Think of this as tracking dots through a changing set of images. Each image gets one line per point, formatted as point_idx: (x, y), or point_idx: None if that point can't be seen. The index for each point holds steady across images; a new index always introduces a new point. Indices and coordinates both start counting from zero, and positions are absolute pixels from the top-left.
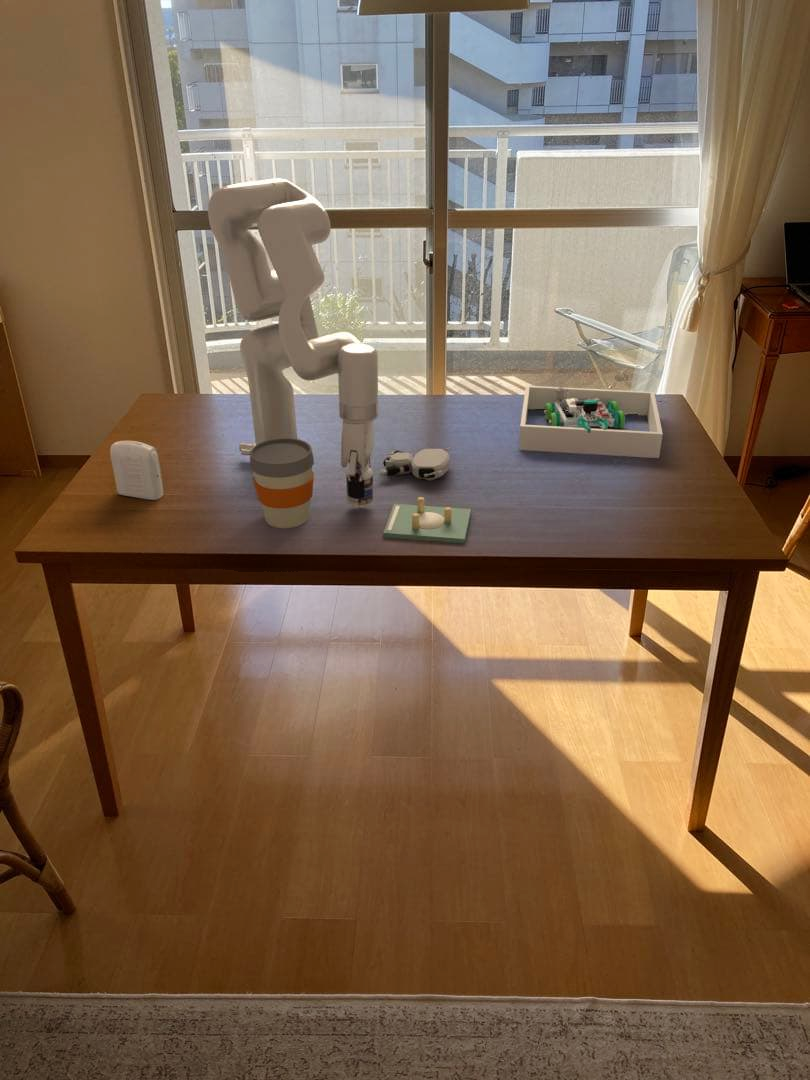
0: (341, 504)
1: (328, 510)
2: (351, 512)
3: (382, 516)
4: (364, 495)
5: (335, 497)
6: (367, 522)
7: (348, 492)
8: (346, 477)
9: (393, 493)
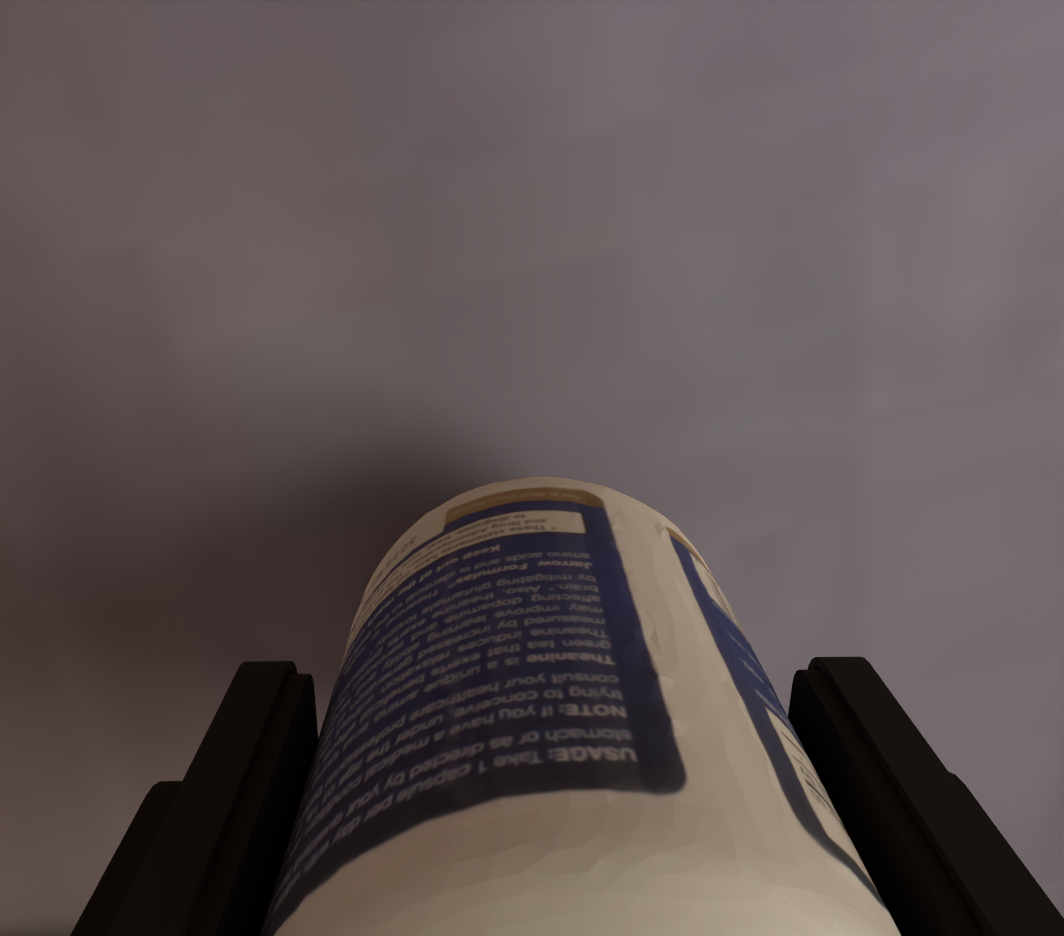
0: (617, 327)
1: (418, 179)
2: (418, 505)
3: None
4: None
5: (816, 193)
6: None
7: (391, 621)
8: (473, 752)
9: None
